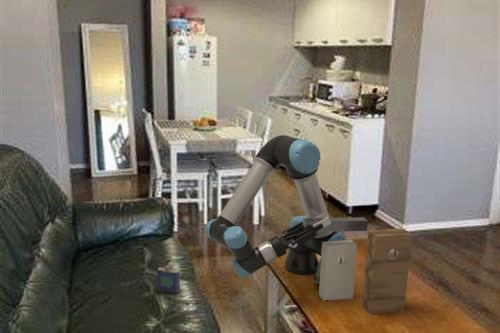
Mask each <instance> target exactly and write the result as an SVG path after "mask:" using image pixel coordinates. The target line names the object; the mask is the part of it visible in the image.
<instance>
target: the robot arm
mask: <svg viewBox="0 0 500 333" xmlns="http://www.w3.org/2000/svg"><path fill="white" fill-rule="evenodd" d="M321 159H322V158H321V152H320V149H319V148H318V146H317V145H316V144H315V143H314V142H312V141H309V140H307V139H304V138H297V137H294V136H293V137H292V136H289V135H286V134H285V135H283V134H281V135H276V136H275V137H272V138H271V139H270V140H267V142H266V143H264V144H263V146H261V148H260V149H259V150H258V151H257V153H256V155H255V157H254V159H253V160H254V162H253V163H252V165H251V167H249V168H250V169H249V170H248V172H247V173H246V175H245V176H244V177H243V179H242V180H241V182H240V184H239V185H238V187H237V188H236V189H235V191H234V193H233V194H232V195H231V197H230V199H229V200H228V201H227V203H226V205H225V206H224V208H223V209H222V211H221V212H220V214H218V217H217V218H214V219H210V220H209V221H208V222H207V223H206V225H205V229H204V232H205V234H206V236H207V237H208V238H209V239H210V240H211V241H213V242H216V243H217V244H219V245H220V246H222V247H224V248H225V249H226V250H228V251H230V252H231V254H232V255H233V256H234V259H233V260H232V261H231V262H232V263H231V264H232V266H233V268H234V269H235V272H236V273H237V275H238V277H239V278H241V279H242V278H246V277H248V276H250V275H252V274H253V273H255V272H257V271H258V270H260V269H261V268H264V267H265V266H266V265H269V264H271V263H273V262H274V261H275V260H277V258H281V257H283V256H285V255H286V257H285V258H284V262H283V263H284V264H283V267H284V269H285V270H286V271H287V272H289V273H292V274H294V275H295V274H296V275H304V276H305V275H313V274H316V272H317V269H318V266H319V262H320V261H319V259H318V258H319V257H318V256H320V257H321V254H322V242H328V241H345V240H346V236H345V235H344V234H343V232H317V231H319V230H321V229H323V228H324V227H326V226H328V225H330V224H331V221H330V219H329V218H330V216H329V212H328V209H327V206H326V203H325V200H324V197H323V193H322V190H321V187H320V183H319V180H318V177H317V172H318V170H319V166H320V164H321V163H320V161H321ZM280 166H281V167H284V168H285V170H286V173H287V176H288V178H289V179H290V180H293V181H294V184H295V188H296V190H297V193H298V196H299V199H300V202H301V206H302V208H303V212H304V214H305V215H297V216H295V217H292V218H291V220H290V223H289V228H287V229H285V230H283V231H282V232H281V233H282V235H281V236H280V237H279V236H278V235H275V236H273V237H271V238H269V240H268V241H267V240H266V241H264V242H262V243H260V244H259V245H257V246H255V247H253V245H252V243H251V241H250V240H249V238H248V235H247V233H246V232H245V231H244V230H243V228H242V227H241V226H239V225H238V224H239V222H240V221H241V219H242V217H243V216H244V215H245V212H246V211H247V210H248V209H249V206H250V205H251V204H252V203H253V201H254V199H256V196H257V195H258V193H259V192H260V190H261V189H262V187H263V186H264V184H265V182H266V181H267V180H268V178H269V177H270V175H271V173H275V172H276V171H277V169H278V168H279V167H280ZM306 218H325V219H323V220H321V221H320V222H318V223H316V224H314V225H313V227H311V228H309V229H307V230H305V231H304V230H303V229H302V228H303V219H306ZM287 250H288V252H287Z"/></svg>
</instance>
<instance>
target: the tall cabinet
mask: <svg viewBox="0 0 500 333" xmlns="http://www.w3.org/2000/svg"><path fill="white" fill-rule="evenodd" d="M412 239H413V234H412V233H411V232H410V231H409V230H406V229H405V228H404V227H403V228H389V229H388V228H387V229H386V228H385V229H372V230H371V229H370V230H368V229H367V241H366V242H367V243H366V252H365V254H366V255H365V263H364V265H365V266H364V278H363V288H362V298H361V299H362V300H361V301H362V302H361V307H362V308H363V309H364V310H365V311H366V312H367V314H368V315H373V314H375V315H376V314H384V313H385V314H386V313H396V312H405V306H406V304H405V303H406V296H407V288H408V287H407V284H408V276H409V269H410V268H409V267H410V260H411V259H410V258H411V249H412Z"/></svg>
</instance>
